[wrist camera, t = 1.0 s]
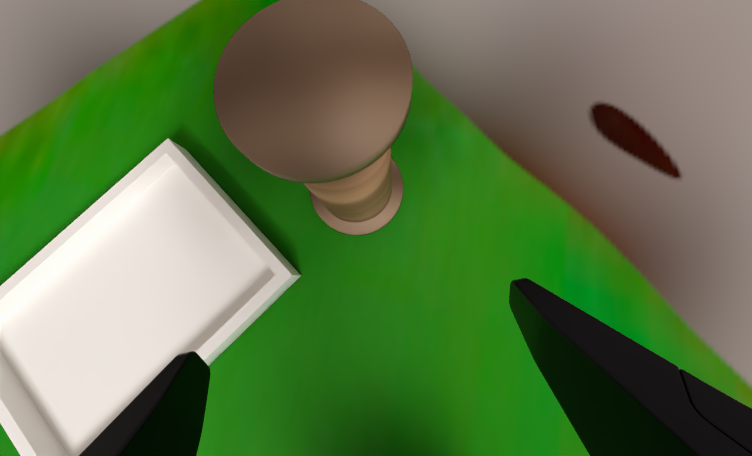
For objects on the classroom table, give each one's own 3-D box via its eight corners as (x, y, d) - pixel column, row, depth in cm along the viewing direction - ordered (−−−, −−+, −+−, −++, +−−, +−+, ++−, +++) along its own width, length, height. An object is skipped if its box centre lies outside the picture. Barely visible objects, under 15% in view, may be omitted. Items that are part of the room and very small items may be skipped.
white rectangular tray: (186, 149, 25) (167, 138, 23) (301, 275, 22) (292, 275, 20) (-17, 330, 23) (-55, 334, 21) (85, 485, 21) (52, 506, 19)
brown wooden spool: (416, 215, 23) (445, 129, 10) (330, 249, 22) (245, 206, 10) (383, 135, 24) (369, -35, 11) (301, 167, 24) (191, 34, 11)
